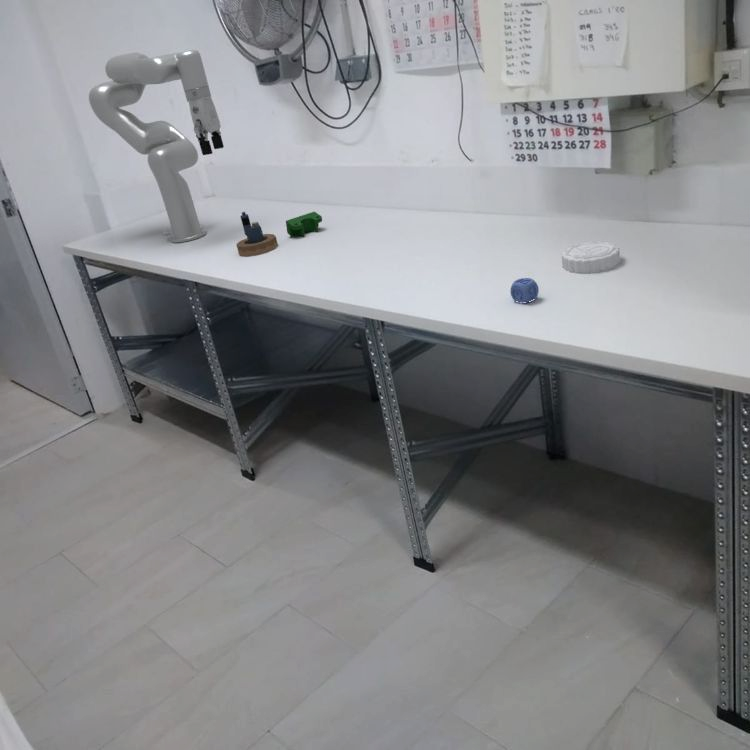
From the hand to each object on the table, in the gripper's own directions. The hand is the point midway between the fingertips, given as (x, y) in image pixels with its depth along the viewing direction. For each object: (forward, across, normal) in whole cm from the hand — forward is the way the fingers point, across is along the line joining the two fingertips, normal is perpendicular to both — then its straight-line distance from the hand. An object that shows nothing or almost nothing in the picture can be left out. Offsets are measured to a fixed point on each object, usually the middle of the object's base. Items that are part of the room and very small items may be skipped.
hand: (213, 151), depth 232 cm
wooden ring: (+28, -19, -14) cm, 37 cm away
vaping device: (+28, -19, -14) cm, 37 cm away
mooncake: (+28, -68, -108) cm, 131 cm away
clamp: (+28, -7, -27) cm, 40 cm away
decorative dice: (+28, -85, -94) cm, 130 cm away
